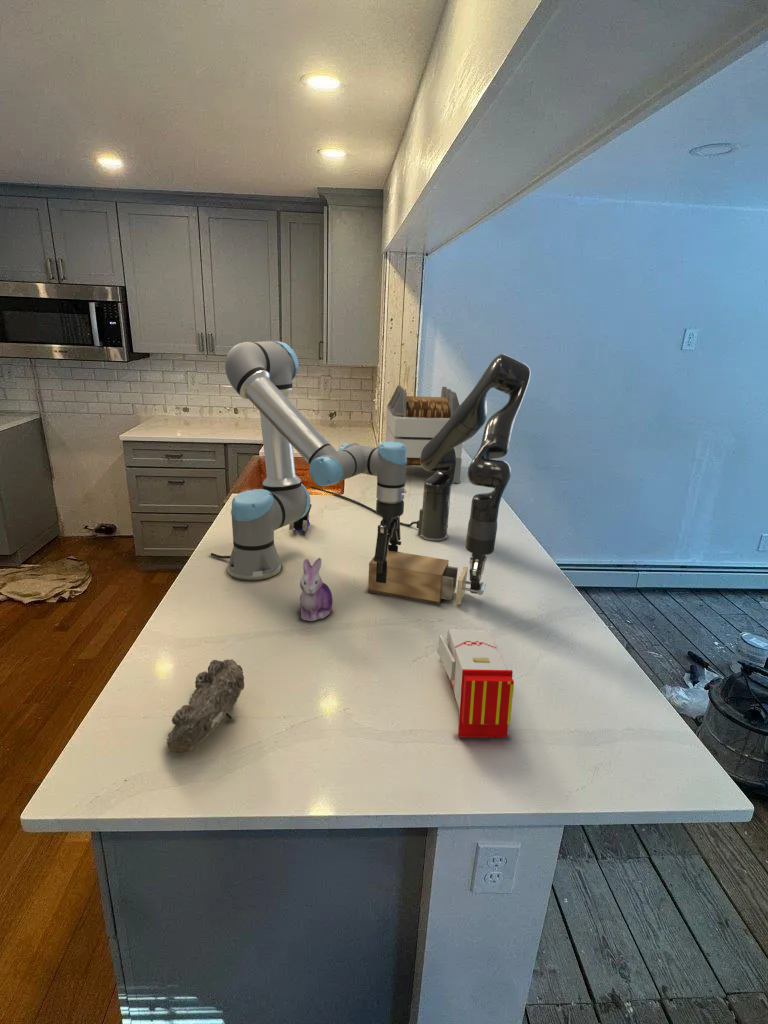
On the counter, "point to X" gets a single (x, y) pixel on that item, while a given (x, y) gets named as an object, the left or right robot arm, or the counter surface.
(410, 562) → the cabinet
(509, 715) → the toy
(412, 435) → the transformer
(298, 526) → the figurine character
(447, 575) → the drawer
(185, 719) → the fossil
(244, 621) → the counter surface
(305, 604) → the figurine
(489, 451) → the right robot arm
